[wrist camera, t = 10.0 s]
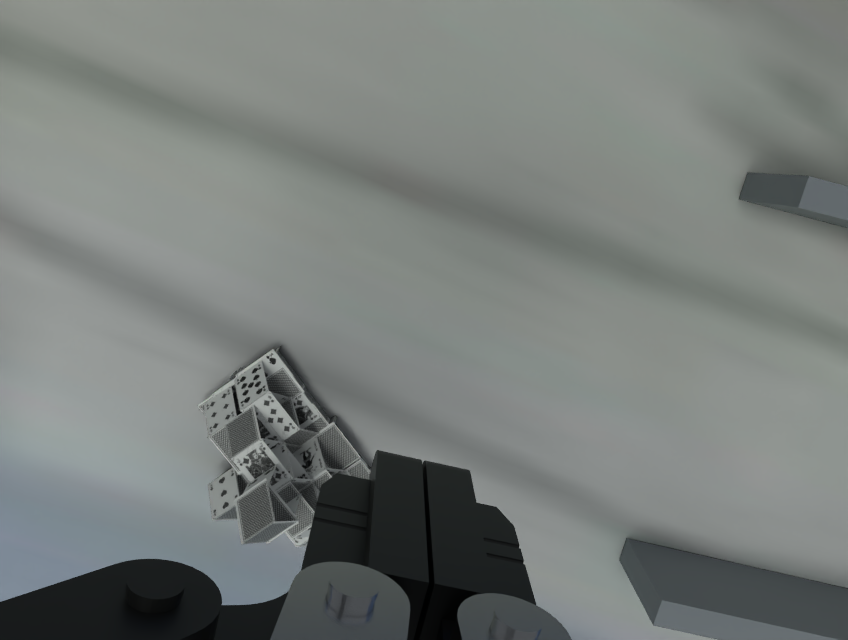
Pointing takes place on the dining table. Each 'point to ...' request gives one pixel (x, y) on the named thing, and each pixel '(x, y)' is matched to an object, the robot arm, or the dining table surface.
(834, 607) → the box
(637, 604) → the dining table surface
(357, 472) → the house of cards
